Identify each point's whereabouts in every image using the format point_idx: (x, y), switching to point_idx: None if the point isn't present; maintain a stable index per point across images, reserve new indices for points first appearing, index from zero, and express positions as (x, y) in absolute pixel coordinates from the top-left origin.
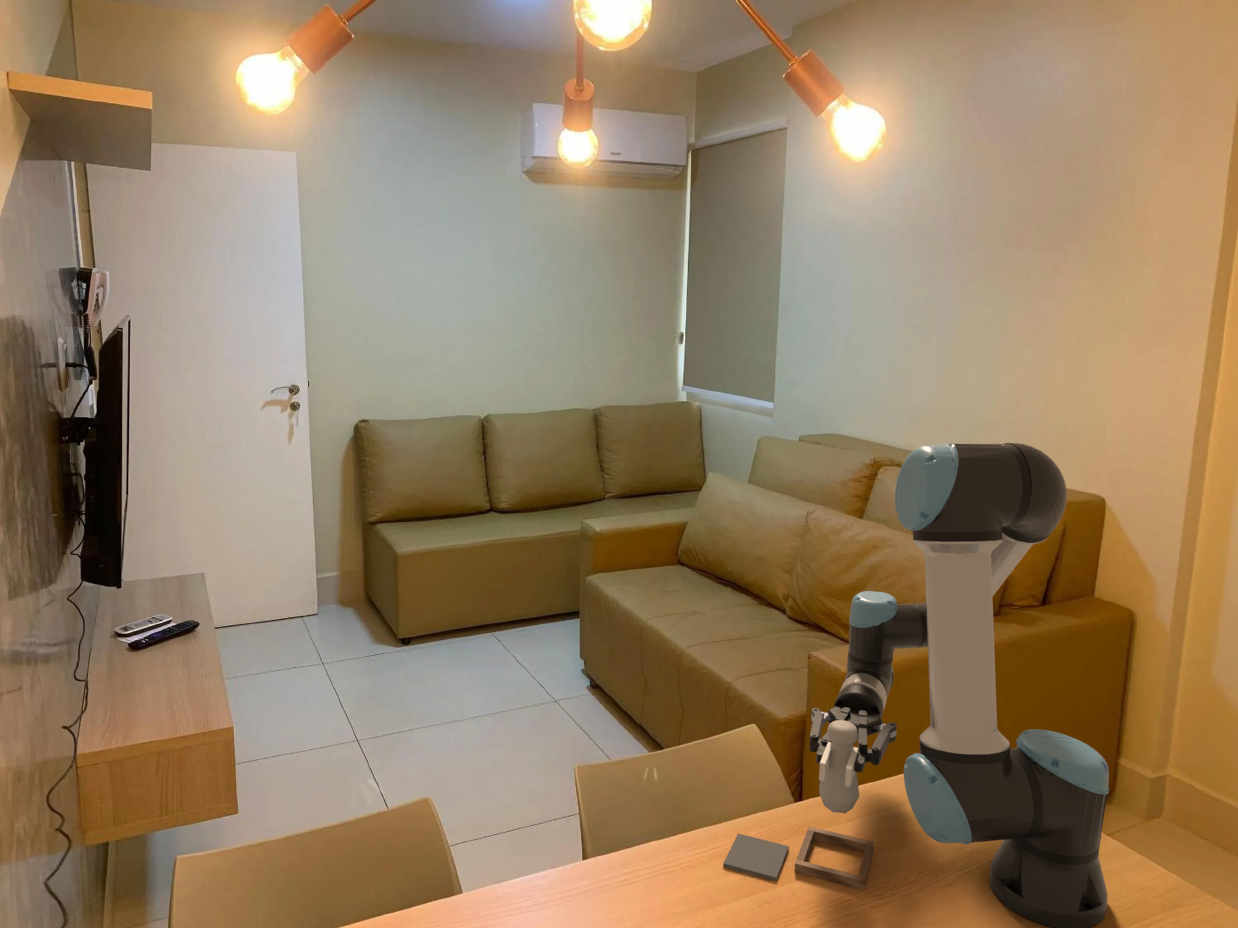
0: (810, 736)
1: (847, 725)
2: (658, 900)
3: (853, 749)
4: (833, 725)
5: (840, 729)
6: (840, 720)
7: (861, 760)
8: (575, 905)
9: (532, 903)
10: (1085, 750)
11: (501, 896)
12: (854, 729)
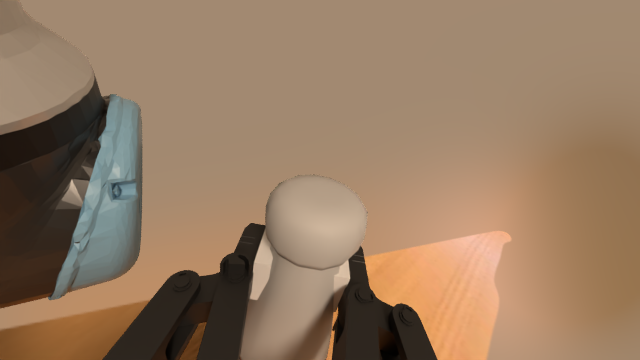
0: (413, 311)
1: (307, 187)
2: (418, 265)
3: (271, 245)
4: (350, 191)
5: (325, 178)
6: (337, 216)
7: (249, 233)
8: (458, 250)
9: (479, 247)
10: None
11: (498, 249)
12: (281, 184)
